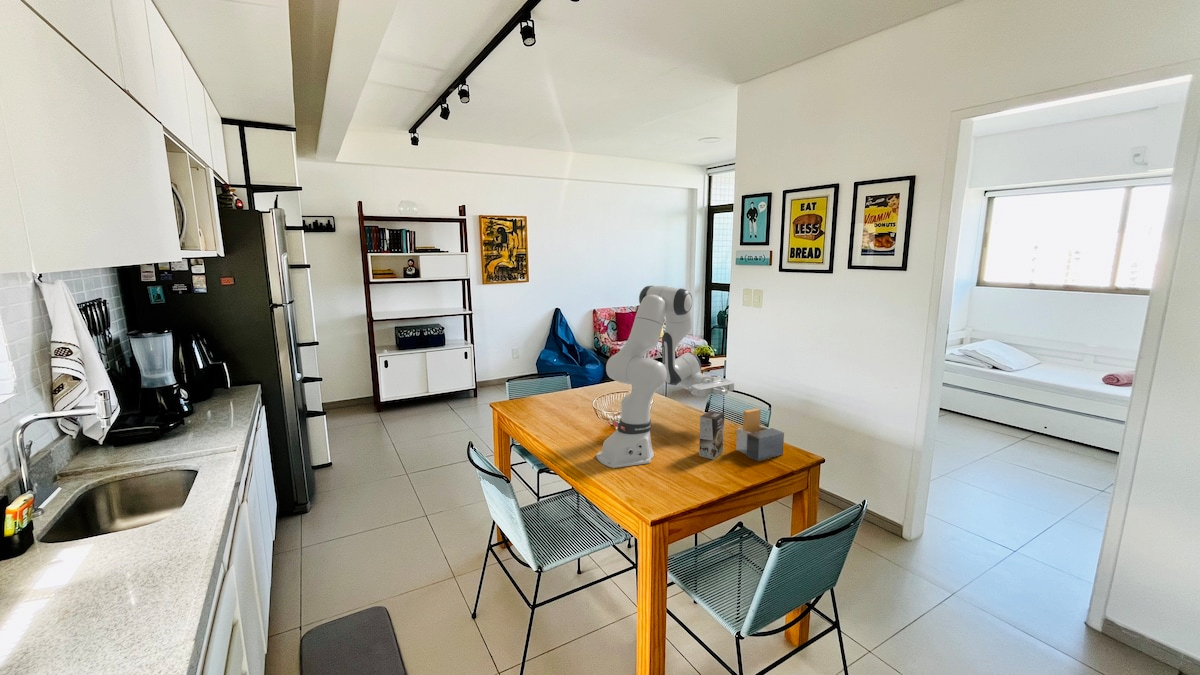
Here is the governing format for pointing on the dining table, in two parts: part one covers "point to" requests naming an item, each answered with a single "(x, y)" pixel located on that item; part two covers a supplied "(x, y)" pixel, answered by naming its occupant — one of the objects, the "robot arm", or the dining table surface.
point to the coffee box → (711, 434)
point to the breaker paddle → (751, 420)
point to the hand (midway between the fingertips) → (725, 392)
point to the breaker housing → (760, 443)
